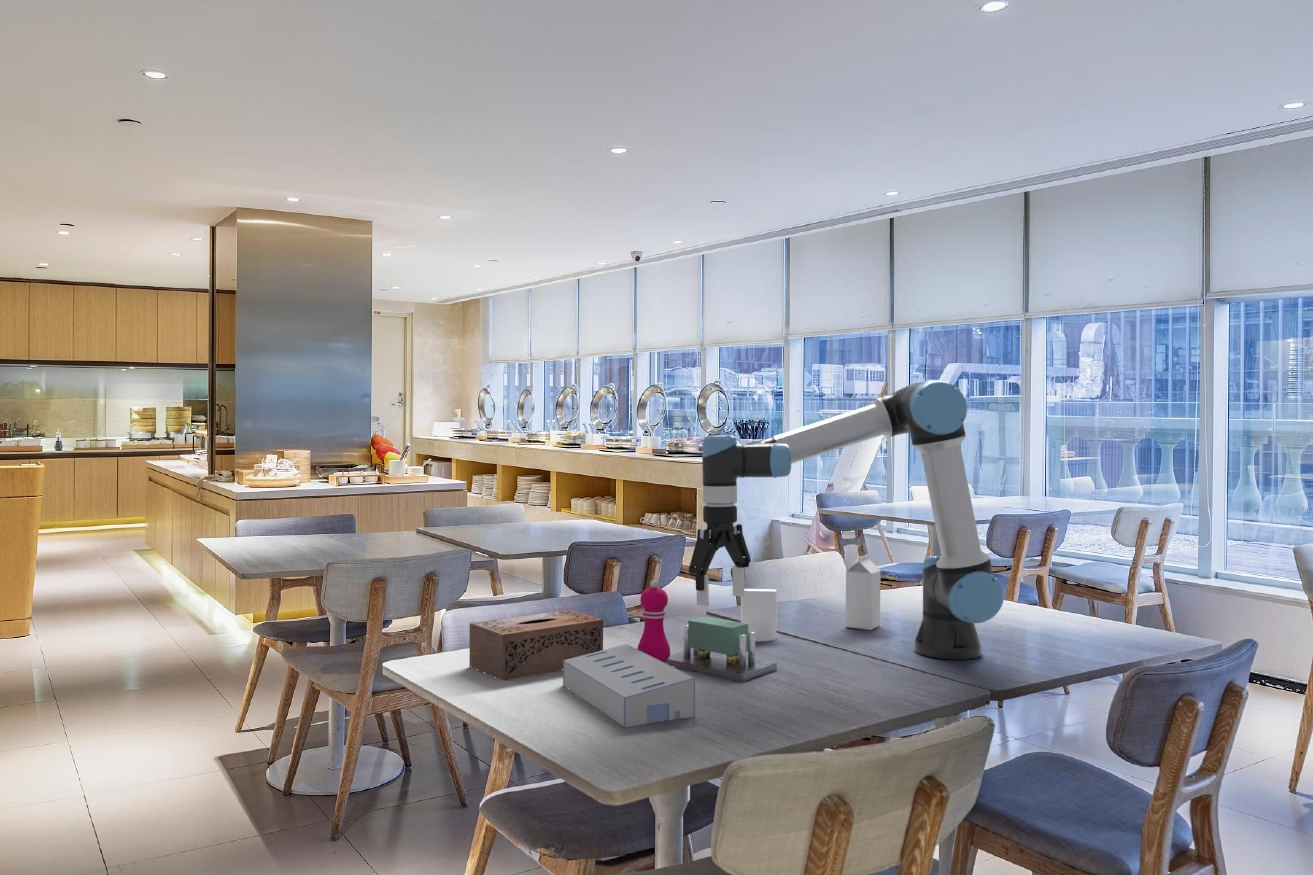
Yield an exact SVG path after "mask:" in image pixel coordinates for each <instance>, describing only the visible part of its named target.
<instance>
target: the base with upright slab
mask: <svg viewBox="0 0 1313 875" xmlns="http://www.w3.org/2000/svg"><path fill="white" fill-rule="evenodd" d="M777 602H778V590H777V589H776V588H775V589H771V588H768V589H767V588H744V597H740V622H741V623H747V624H748V632H756V636H755V642H771V641H775V640H776V639H777V629H778V626H777V624H778V623H777V621H778V620H777V618H778V617H777V616H778V613H777V612H778V611H777V610H778V608H777V607H778V605H777V604H778V603H777Z"/></svg>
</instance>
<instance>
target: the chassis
mask: <svg viewBox="0 0 1313 875" xmlns="http://www.w3.org/2000/svg"><path fill="white" fill-rule="evenodd" d="M755 636H756V632H748V651H746V635H744V634H740V635H739V654H736V655H733V656H731V655H726V654H721V653H716V652H710V651H705V650H700V649H695V648H690V647H688V624H684V625H683V651H681V652H677V653H674V654H670V657H669V658H668V659H667V661H666V662H665V663H667V664H668V665H670V666H675V667H674V668H676V667H678V668H677V669H681V670H686V669H687V671H692V672H697V673H700V672H701V674H705V675H711V676H715V677H720V678H723V677H724V678H723V679H728V680H734V681H738V682H743V683H744V682H746V681H749V680H751V679H754V678H758V677H761V676H763V675H766V674H768V673H772V672H775V671H777V670H778V669H777V668H778V663H777V662H772V661H768V660H763V659H758V658H756V641H755Z"/></svg>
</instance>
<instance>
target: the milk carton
mask: <svg viewBox="0 0 1313 875" xmlns="http://www.w3.org/2000/svg"><path fill="white" fill-rule="evenodd" d="M850 565H851V567H850V568H848V569H847V570H846V571H845V628H853V629H860V630H867V631H872V630H874V629H876V628H878V627H880V626H881V569H880V568H879V567H878V566H877V565H876V564H875V563H874V562H873V561H872V560H871V559H869V554H868V553H867V554H864V555H861V556H858V558H856V559H855V560H853V561H852V562H851V563H850Z"/></svg>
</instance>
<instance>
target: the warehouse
mask: <svg viewBox="0 0 1313 875" xmlns="http://www.w3.org/2000/svg"><path fill="white" fill-rule="evenodd" d="M563 685H564V686H563ZM562 686H563V687H565V686H566V687H565V688H566V689H568V688H569V689H570V690H569V689H568V690H569V691H571V692H572V691H573V692H572V693H574V694H575V693H577V694H576V695H577V696H578V697H580V696H581V697H582V698H581V697H580V698H581V699H583V700H584V699H585V700H584V701H586V702H587V701H588V702H589V703H588V702H587V703H588V704H590V705H591V704H592V705H591V706H592V707H594V708H596V709H597V710H599V711H601V712H602V713H603V714H604V715H606V716H607V717H609V718H610V719H612V720H614V721H615V722H616V723H618V725H621V726H622V727H623V728H628V727H635V726H640V725H641V726H642V725H647V724H651V723H652V724H653V723H659V721H660V722H663V721H662V720H667V721H668V720H669V721H674V720H673V719H675V720H681V719H680V718H682V719H687V718H695V717H696V677H695V676H693V675H690V674H689V673H686V672H684V671H682V670H680V669H679V668H676V667H672V666H670V665H668V664H666V663H664V662H662V661H660V660H658V659H656V658H654V657H652V656H650V655H648V654H646V653H644V652H642V651H640V650H638V649H637V648H636V647H633V646H631V645H629V644H627V643H625V644H622V645H618V646H615V647H610V648H606V649H603V650H602V651H598V652H594V653H590V654H586V655H582V656H578V657H574V658H570V659H566V660H563V670H562ZM677 718H679V719H677Z"/></svg>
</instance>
